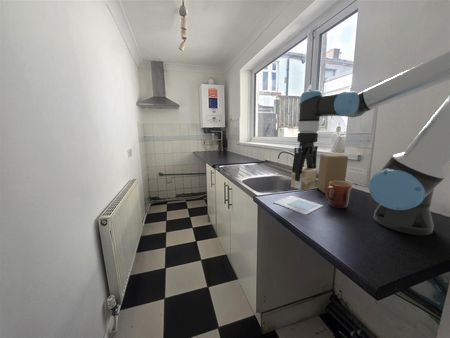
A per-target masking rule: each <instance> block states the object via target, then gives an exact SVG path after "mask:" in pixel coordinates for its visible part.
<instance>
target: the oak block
mask: <svg viewBox="0 0 450 338" xmlns="http://www.w3.org/2000/svg"><path fill="white" fill-rule="evenodd" d="M317 169H318V168H317ZM317 169H315V168H314V169H312V168H307V166H306V167H305V166H303V169H302V174H303V176H302V187H301V189H300V191H305V192H306V191H307V192H308V191H309V190H312V189H315V188H316V183H317V182H316V181H317V172H318V170H317ZM290 183H291V184H290V187H291V188H294V189H296V188H295V173H294V172H292V171H291V180H290Z"/></svg>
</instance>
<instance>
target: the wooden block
mask: <svg viewBox="0 0 450 338" xmlns="http://www.w3.org/2000/svg"><path fill="white" fill-rule="evenodd" d="M348 162H349V156H348V155H344V154H340V153H321V154H320V156H319V164H318V165H319V168H318V174H317V175H318V176H317V187H316V188H317V190H318V189H319V191H321V192H322V193H323V194H325V195H326V188H327V187H329V182H330V181H343V182H346V178H347V177H346V176H347V168H348ZM329 193H330V192H329Z"/></svg>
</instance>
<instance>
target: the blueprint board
mask: <svg viewBox="0 0 450 338" xmlns="http://www.w3.org/2000/svg"><path fill="white" fill-rule="evenodd" d="M273 204H275V205H278V206H280V205H281V206H280V207H283V206H284V207H283V208H286V209H288V208H289V210H291V211H293V210H294V212H297V213H298V214H301V215H304V216H307V215H309V214H312V213H313V212H316V211H317V210H319V209H321V208H323V207H324V205H323V204H319V203H317V202H315V201H310V200H307V199H305V198H300V197H298V196H294V195H289V196H287V197H283V198H280V199H277V200H276V201H273Z"/></svg>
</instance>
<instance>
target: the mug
mask: <svg viewBox="0 0 450 338" xmlns="http://www.w3.org/2000/svg"><path fill="white" fill-rule="evenodd" d="M353 185H354V184H352V183H350V182H347V181H345V182H343V181H330V182H329V187H327V188H326V194H325V198H326V199H327V200H328V204H329V205H330V206H331V207H333V208H335V209H346V208H347V207H348V205H349V201H350V193H351V190H352V188H353ZM329 192H330V193H329Z"/></svg>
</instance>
